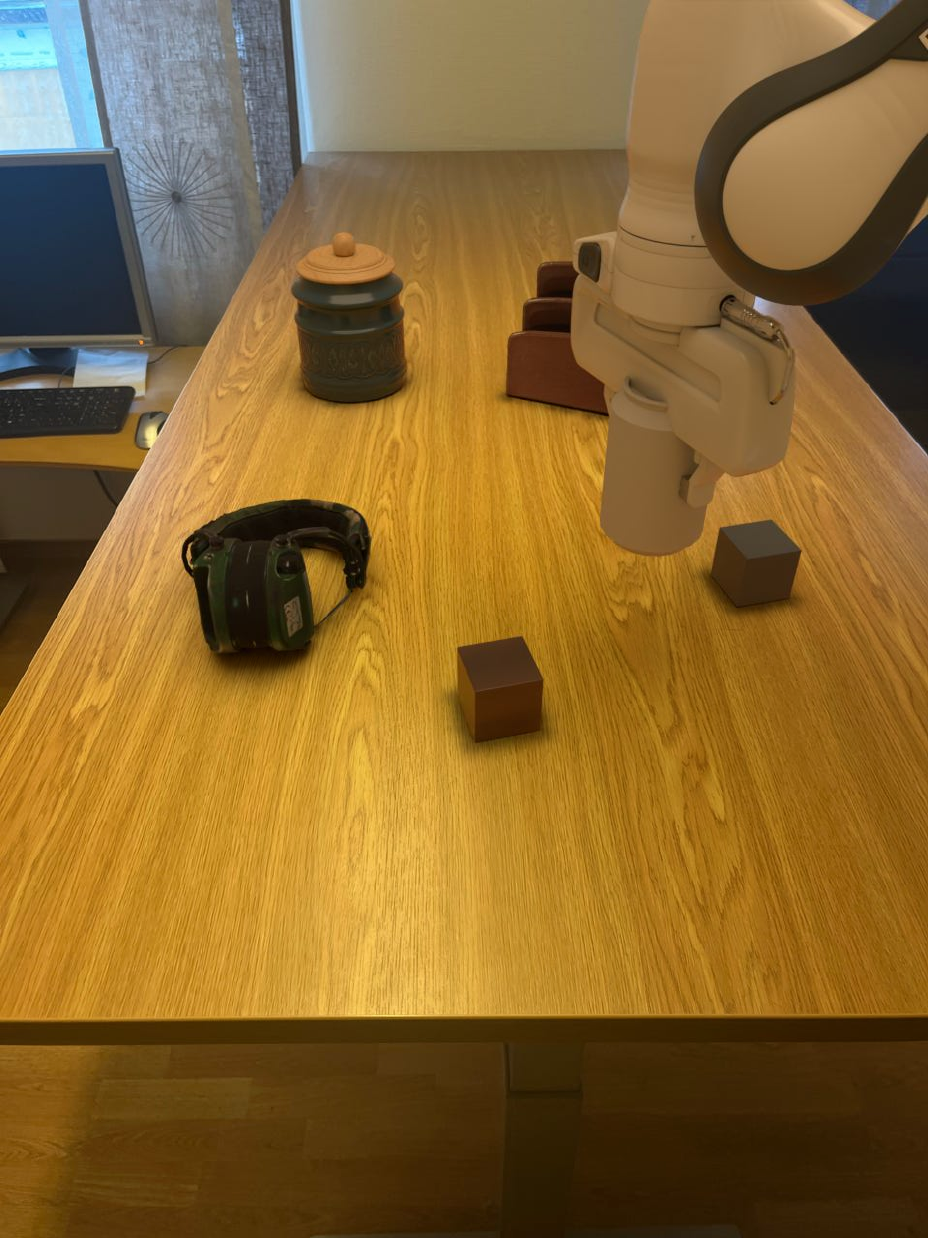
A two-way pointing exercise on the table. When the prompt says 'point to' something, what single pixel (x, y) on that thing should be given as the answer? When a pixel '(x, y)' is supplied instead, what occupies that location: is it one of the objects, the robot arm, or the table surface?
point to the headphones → (270, 570)
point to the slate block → (755, 562)
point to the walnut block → (499, 688)
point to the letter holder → (551, 347)
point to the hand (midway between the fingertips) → (657, 471)
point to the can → (646, 479)
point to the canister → (349, 322)
